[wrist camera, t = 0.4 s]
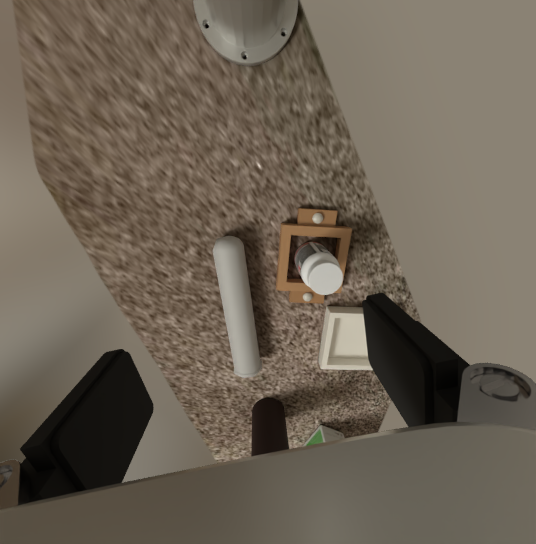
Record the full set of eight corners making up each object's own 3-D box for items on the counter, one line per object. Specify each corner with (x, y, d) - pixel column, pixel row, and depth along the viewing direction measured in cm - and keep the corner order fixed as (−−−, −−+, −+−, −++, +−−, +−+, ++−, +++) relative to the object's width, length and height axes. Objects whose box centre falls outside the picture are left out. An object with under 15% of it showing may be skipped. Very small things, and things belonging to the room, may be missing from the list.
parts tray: (326, 305, 48) (330, 312, 45) (390, 308, 48) (397, 315, 46) (318, 360, 52) (320, 369, 49) (377, 361, 53) (382, 370, 50)
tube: (202, 240, 39) (229, 376, 47) (236, 239, 37) (257, 379, 46) (218, 232, 44) (240, 357, 52) (248, 231, 42) (266, 359, 50)
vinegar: (248, 401, 55) (244, 519, 36) (279, 393, 54) (292, 509, 36) (257, 424, 57) (258, 546, 38) (287, 417, 57) (303, 536, 38)
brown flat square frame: (282, 206, 41) (283, 208, 40) (351, 211, 42) (354, 212, 40) (274, 298, 47) (275, 303, 45) (335, 301, 47) (338, 305, 46)
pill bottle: (296, 276, 45) (307, 302, 36) (291, 244, 43) (300, 264, 34) (329, 269, 45) (348, 293, 36) (325, 237, 43) (344, 254, 34)
